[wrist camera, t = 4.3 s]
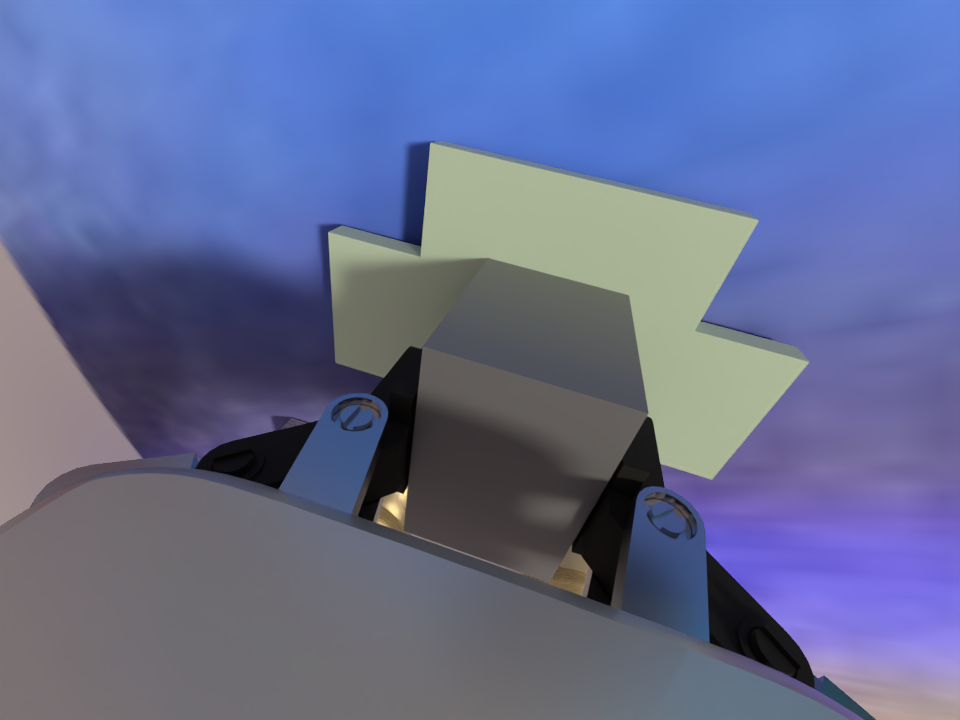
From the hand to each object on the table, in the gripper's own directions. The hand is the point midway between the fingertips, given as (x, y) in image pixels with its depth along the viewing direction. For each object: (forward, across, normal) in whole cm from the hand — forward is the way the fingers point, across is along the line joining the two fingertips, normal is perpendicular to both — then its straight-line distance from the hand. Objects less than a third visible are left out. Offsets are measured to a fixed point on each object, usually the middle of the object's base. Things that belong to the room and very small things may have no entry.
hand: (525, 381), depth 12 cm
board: (+2, 0, 0) cm, 2 cm away
